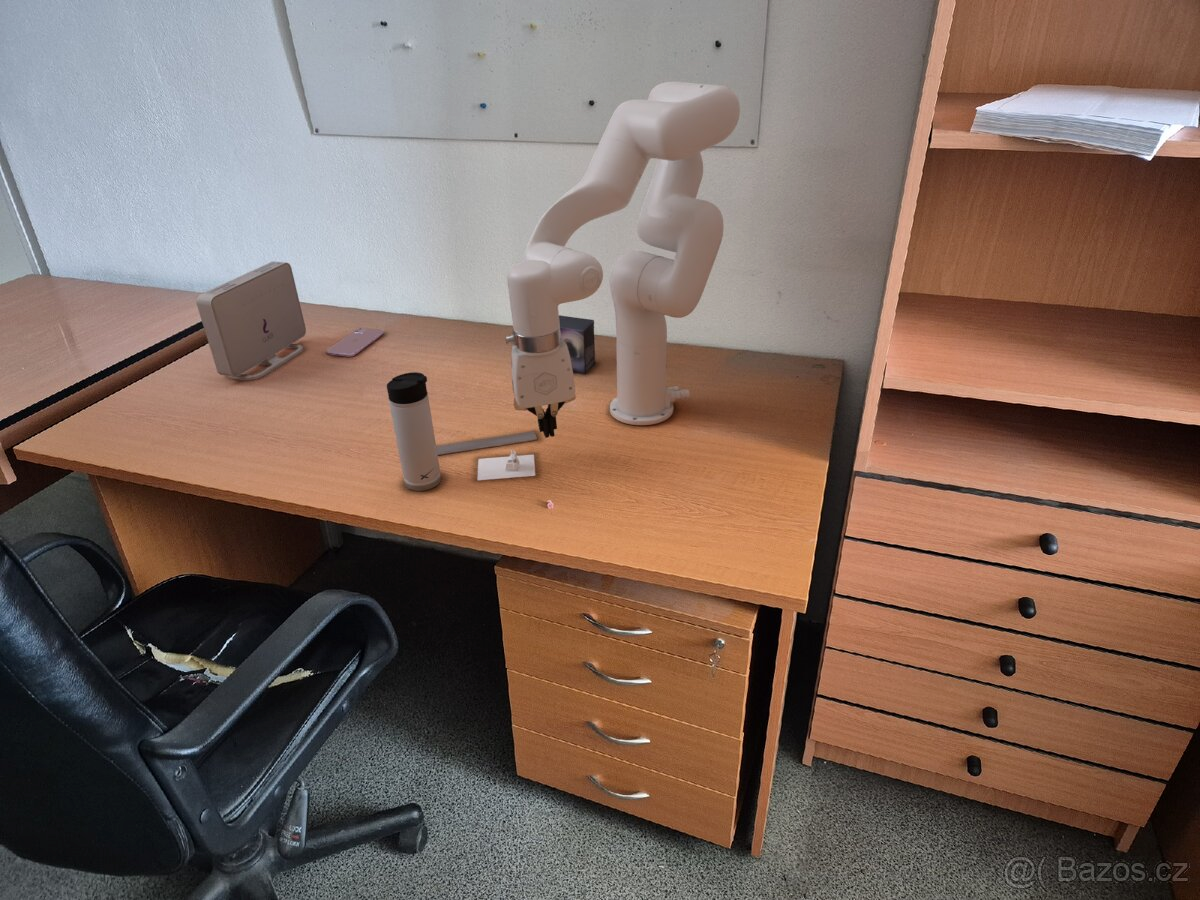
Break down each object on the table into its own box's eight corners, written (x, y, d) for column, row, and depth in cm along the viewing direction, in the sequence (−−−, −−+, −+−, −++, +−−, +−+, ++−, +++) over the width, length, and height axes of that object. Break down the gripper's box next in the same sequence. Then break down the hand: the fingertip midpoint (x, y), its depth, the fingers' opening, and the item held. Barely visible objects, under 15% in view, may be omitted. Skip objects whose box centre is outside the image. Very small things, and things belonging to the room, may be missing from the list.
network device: (244, 388, 168) (218, 299, 158) (211, 383, 171) (183, 296, 160) (316, 342, 189) (297, 261, 179) (286, 338, 191) (266, 258, 181)
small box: (541, 368, 173) (537, 323, 167) (553, 356, 178) (550, 313, 173) (585, 375, 169) (583, 329, 164) (596, 363, 174) (595, 318, 169)
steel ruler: (534, 432, 149) (534, 431, 148) (537, 440, 146) (537, 438, 146) (428, 448, 144) (427, 447, 144) (429, 457, 142) (429, 455, 142)
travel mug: (435, 493, 132) (417, 387, 121) (398, 489, 133) (378, 384, 123) (448, 473, 137) (432, 370, 127) (413, 470, 138) (394, 367, 128)
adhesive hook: (520, 471, 137) (518, 455, 135) (505, 472, 137) (503, 457, 135) (519, 462, 140) (518, 447, 138) (505, 463, 139) (503, 448, 138)
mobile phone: (323, 350, 182) (358, 326, 194) (324, 354, 182) (359, 330, 194) (351, 353, 180) (385, 329, 192) (352, 357, 180) (386, 333, 192)
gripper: (495, 355, 123) (510, 452, 133) (587, 339, 126) (594, 436, 136) (489, 336, 129) (503, 430, 139) (576, 322, 132) (584, 415, 142)
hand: (548, 433), depth 137 cm, fingers closed
